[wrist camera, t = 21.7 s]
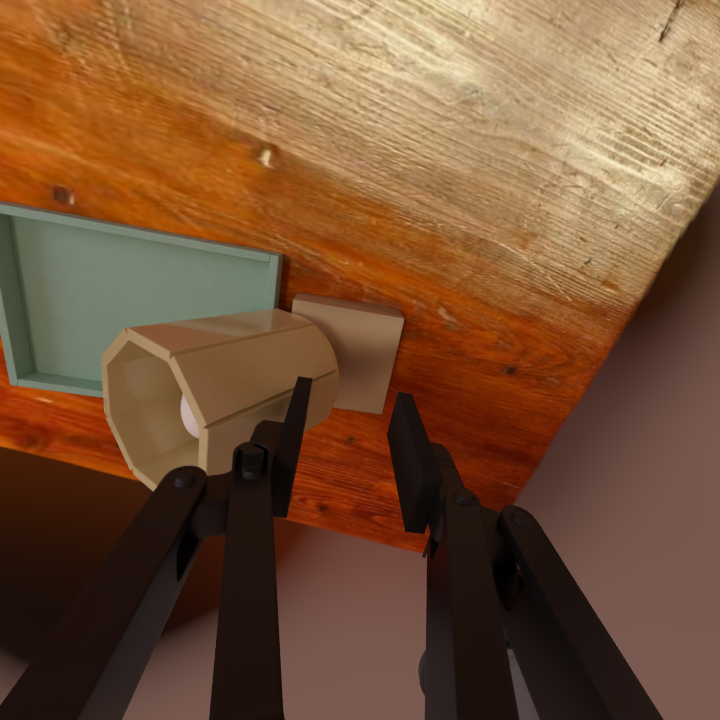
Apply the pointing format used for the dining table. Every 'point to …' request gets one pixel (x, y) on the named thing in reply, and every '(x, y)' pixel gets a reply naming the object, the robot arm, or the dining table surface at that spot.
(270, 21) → the dining table surface
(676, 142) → the dining table surface
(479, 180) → the dining table surface
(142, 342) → the cup
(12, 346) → the tray
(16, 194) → the dining table surface
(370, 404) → the block
